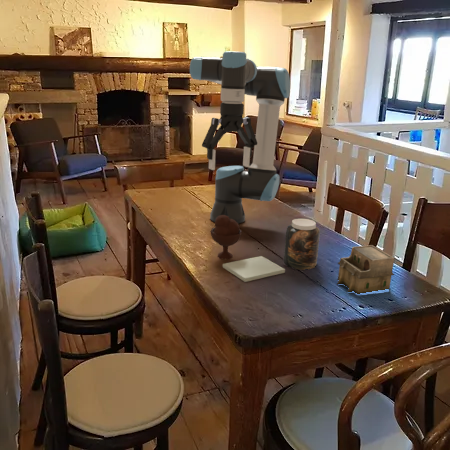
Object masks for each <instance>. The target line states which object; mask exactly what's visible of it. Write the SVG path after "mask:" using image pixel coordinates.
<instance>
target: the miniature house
mask: <svg viewBox="0 0 450 450" xmlns="http://www.w3.org/2000/svg"><path fill="white" fill-rule="evenodd" d="M394 261H395V257H393V256H392V255H390V254H388V253H387V252H385V251H383V250H382V249H380V248H378V247H377V246H374V245H373V244H369V245H360V246H359V245H358V246H352V248H351V251H350V255H349V256H347V257H341V258H340V260H339V262H337V264H338V265H339V268H338V276H337V277H338V278H337V279H336V281H337V280H339V281H337V283H336V285H337V284H344V285H345V286H347V287H348V288H349V289H347V291H348V292H352V291H354V292H355V293H357V294H360V293H366V292H372V291H378V290H385V289H389V288H390V289H391V280H392V276H394V275H395V273H394V272H393V269H394ZM345 286H344V287H345ZM390 289H389V290H390Z"/></svg>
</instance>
